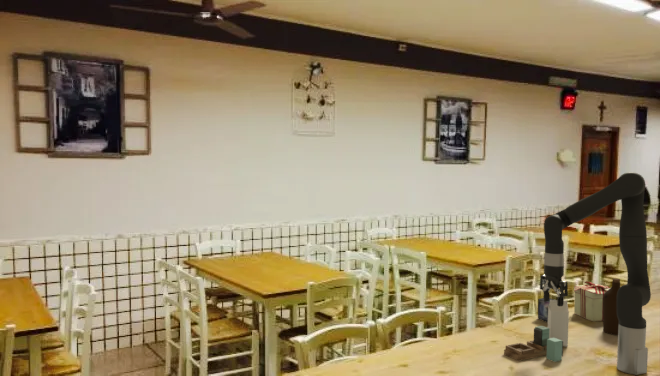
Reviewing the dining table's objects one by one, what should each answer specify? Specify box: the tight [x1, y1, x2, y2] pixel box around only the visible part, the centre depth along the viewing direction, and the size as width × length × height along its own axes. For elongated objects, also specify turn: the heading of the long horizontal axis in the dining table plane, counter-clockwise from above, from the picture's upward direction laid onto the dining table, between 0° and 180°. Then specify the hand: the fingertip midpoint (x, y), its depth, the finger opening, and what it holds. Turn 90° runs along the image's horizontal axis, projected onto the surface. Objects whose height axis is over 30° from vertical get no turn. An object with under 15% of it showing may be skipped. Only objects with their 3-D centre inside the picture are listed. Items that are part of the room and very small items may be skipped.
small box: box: [537, 297, 554, 323], centre depth 277 cm, size 11×6×10 cm, turn 25°
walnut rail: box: [503, 325, 550, 361], centre depth 230 cm, size 8×22×10 cm, turn 117°
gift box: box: [573, 281, 611, 322], centre depth 284 cm, size 17×18×17 cm
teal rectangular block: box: [546, 338, 564, 363], centre depth 223 cm, size 4×5×8 cm
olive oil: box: [602, 278, 621, 336], centre depth 259 cm, size 11×11×25 cm
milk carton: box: [547, 299, 570, 348], centre depth 242 cm, size 7×7×19 cm
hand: (553, 303), depth 227 cm, fingers open, 8 cm apart
